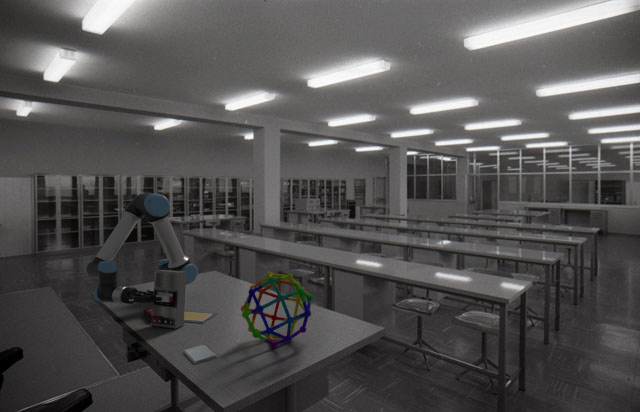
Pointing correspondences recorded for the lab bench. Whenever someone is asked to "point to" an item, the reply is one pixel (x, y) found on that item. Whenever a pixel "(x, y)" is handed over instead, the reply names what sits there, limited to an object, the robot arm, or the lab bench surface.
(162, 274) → the grey instrument box
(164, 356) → the lab bench surface
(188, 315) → the picture board
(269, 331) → the geometric model
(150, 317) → the calculator
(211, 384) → the lab bench surface
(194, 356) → the hard drive
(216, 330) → the lab bench surface
